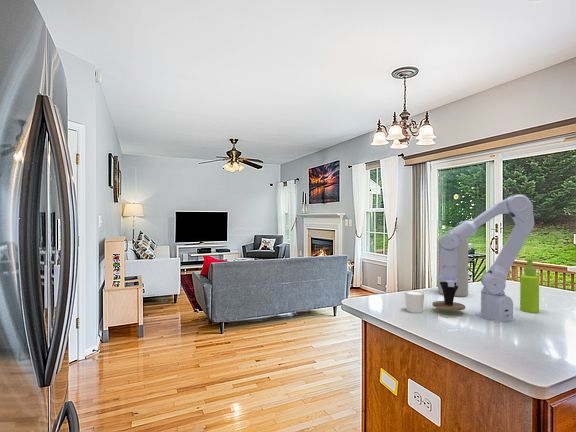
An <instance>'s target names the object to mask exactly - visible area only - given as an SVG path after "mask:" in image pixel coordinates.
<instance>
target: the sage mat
mask: <svg viewBox="0 0 576 432" xmlns="http://www.w3.org/2000/svg"><path fill="white" fill-rule="evenodd" d="M424 310H425V311H428V312H430V313H433V314H436V315H439V316H440V317H442V318H446V319H451V318H462V317H471V316H474V314H472V313H469V312H466V311H464V310H445V309H440V308H437V307H430V308H429V307H427V308H424Z"/></svg>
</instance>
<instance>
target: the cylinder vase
mask: <svg viewBox="0 0 576 432" xmlns="http://www.w3.org/2000/svg"><path fill="white" fill-rule="evenodd" d="M440 239H441V238H440ZM440 239H438V240H437V243H438V245H437V247H438V248H437V250H438V253H437V255H438V256H437V262H438V263H437V277H440V253H441V251H440V249H441V247H442V246H441V244H440ZM456 253H457V278H458V281H457V282H456V285H455V286H458V289H457V290H456V293H455V296H454V298H455V297H456V298H459V297H460V298H462V297H467V296H468V295H469V240H468V239H466V240H465V241H463V242H462V243H458V246H457V247H456ZM439 282H444V281H442V280H438V279H437V292H438V294H440V295H442V296H444V295H443V290H442V287H441V285H440V283H439Z"/></svg>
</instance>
